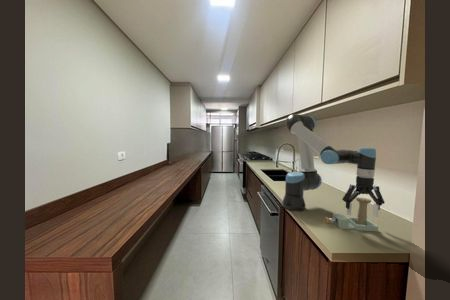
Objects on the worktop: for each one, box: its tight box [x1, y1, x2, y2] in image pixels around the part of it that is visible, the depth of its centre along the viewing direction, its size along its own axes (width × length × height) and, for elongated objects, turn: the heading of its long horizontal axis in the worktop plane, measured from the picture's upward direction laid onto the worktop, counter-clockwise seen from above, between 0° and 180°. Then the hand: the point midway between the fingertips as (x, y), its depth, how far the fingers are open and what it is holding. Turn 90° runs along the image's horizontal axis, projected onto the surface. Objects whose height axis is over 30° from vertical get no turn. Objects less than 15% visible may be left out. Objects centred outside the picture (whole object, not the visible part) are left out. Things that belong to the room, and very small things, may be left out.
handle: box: [355, 196, 372, 225], centre depth 99 cm, size 5×6×15 cm
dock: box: [332, 213, 379, 232], centre depth 100 cm, size 10×18×5 cm, turn 86°
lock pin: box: [324, 216, 338, 224], centre depth 101 cm, size 3×7×3 cm, turn 86°
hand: (361, 215), depth 99 cm, fingers open, 13 cm apart
